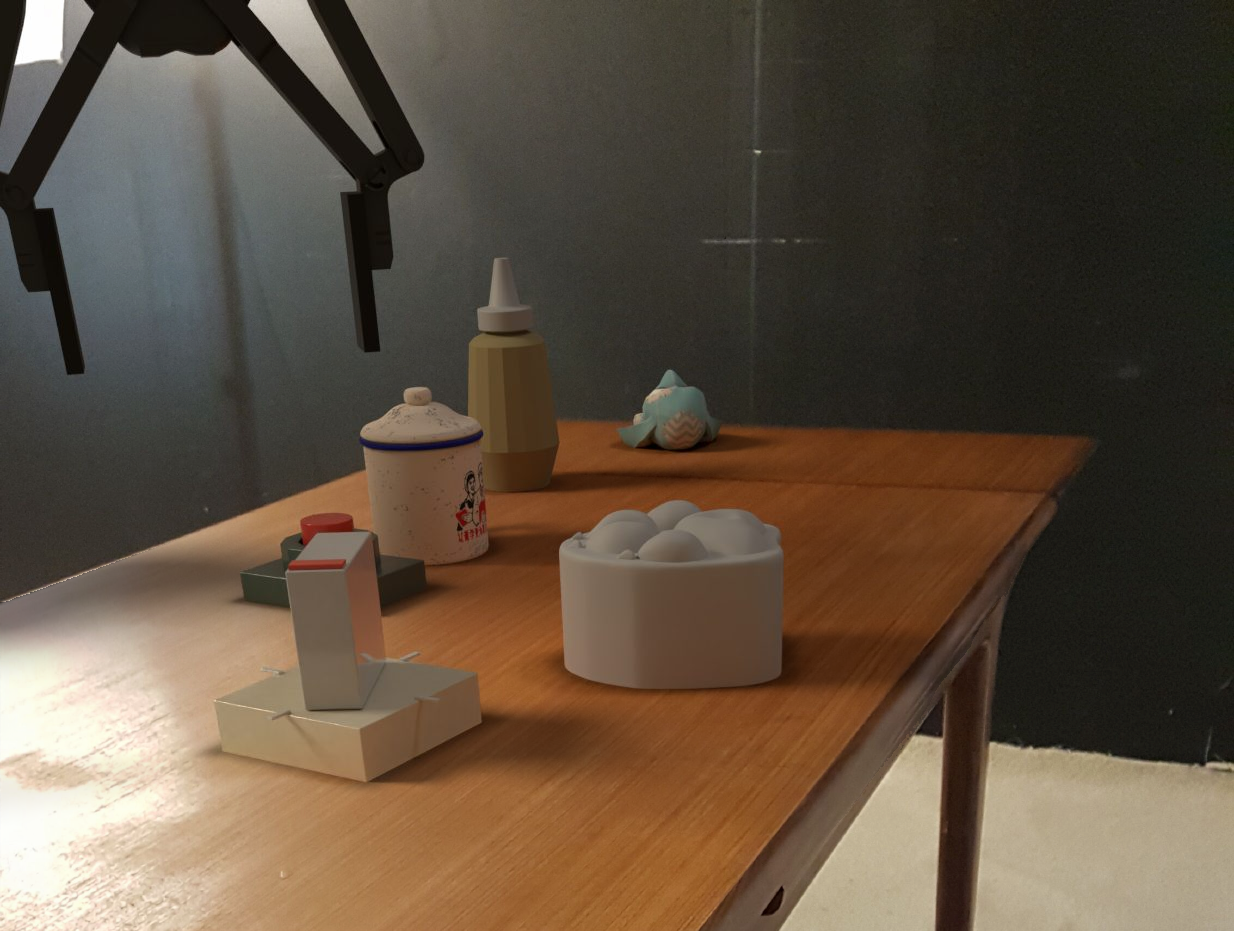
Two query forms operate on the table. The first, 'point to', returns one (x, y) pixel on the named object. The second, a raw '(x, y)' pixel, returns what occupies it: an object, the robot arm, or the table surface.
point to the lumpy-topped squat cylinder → (674, 599)
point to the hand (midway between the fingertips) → (225, 360)
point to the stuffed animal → (672, 418)
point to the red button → (325, 525)
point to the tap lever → (336, 620)
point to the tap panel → (351, 720)
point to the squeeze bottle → (511, 392)
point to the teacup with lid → (426, 481)
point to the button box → (270, 579)
